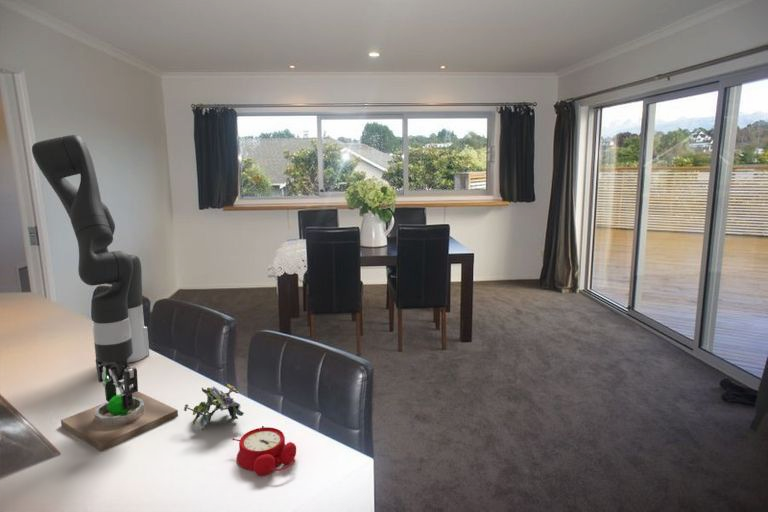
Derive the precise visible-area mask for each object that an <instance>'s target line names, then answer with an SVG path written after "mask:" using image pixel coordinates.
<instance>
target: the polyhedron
mask: <svg viewBox="0 0 768 512" xmlns="http://www.w3.org/2000/svg"><path fill="white" fill-rule="evenodd" d="M130 409H131V408H130ZM130 409H128V410H123V409H122V401H121V393H120V394H119V393H118V394H117V395H116V396H114V397H112V398H111V399H110V401H109V403H108V410H109V412H110V413H111V414H112V415H116V416H118V415H123V414H126V413H128V412H129V410H130Z"/></svg>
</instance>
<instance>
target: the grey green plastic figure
mask: <svg viewBox="0 0 768 512" xmlns="http://www.w3.org/2000/svg"><path fill="white" fill-rule="evenodd" d="M225 386H227V388H228V389H229V390H228V392H224V391H222V390H221V389H220V388H217V387H215V386H212V387H207V388H206V389H205V388H204V386H202V387H201V390H202V391H201V392H203V393H204V394H206V396H207V397H206V401H200V403H199V404H198V405H195V406H194V407H193V408H190V407H189V404H185V405H184V408H183V411H184V412H187V409H188V410H190V411H192V416H195V418H193V421H192V426H194V425H195V423H196V421H197V420H198V418H199V417H200V416H202V417H203V418H202V419H203V425H202V428H201V431H203V430H204V429H205V427H206V425H207V424H208V423H209V422H210V421H211V420H212V417H213V415H214V414H215V413H216V411H218V410H220V411H222V412H223V411H226V410H228V413H229V414H228V415H229V416H230V417H231V418H232V419H234V420H238V419H239V417H243V416H244V414H245V412H243V411H241V410H240V409H241V404H240V403H238V402H236V401H235V400H234V398H233V397H231V396H230V394H231V393H232V392H234V393H235V394H239V393H240V392H239V391H238V389H237V388H235V386H234V385H231V383H228V382H225ZM211 406H215V407H214V408H213V409H212V411H211V412H209V411H210V409H211ZM206 414H207V415H206ZM238 416H239V417H238Z"/></svg>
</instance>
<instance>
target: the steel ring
mask: <svg viewBox="0 0 768 512" xmlns="http://www.w3.org/2000/svg"><path fill="white" fill-rule="evenodd" d="M108 403H109V402H108V401H106V402H104V403H102V405H101V404H99V405H100V406H99V405H98V406H99V407H98V408H96V409H95V414H94V415H95V423H97V424H99V425H101V426H117V425H122V424H127V423H129V422H131V421H134V420H136V419H138V418H139V417H140V416H141V415H142V414H144V400H142V399H140V398H138V397H133V406H136V407H137V408H136V409H135V410H134V411H131V412H129V413H126V414H123V415H118V416H103V414H104V413H106V412H107V411H109V410H108Z"/></svg>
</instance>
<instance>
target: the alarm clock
mask: <svg viewBox="0 0 768 512" xmlns="http://www.w3.org/2000/svg"><path fill="white" fill-rule="evenodd" d="M231 440H232V441H236V442H239V443H238V445H239V447H238V448H239V449H238V452H237V455H236V462H237V464H238V465H239V466H240V467H241V468H242V469H244V470H249V471H254V473H255V474H256V475H258V476H268V475H270V474H271V473H272V472H273V471H282V470H286V469H287V468H289V467H291V466H292V465H294V463H295V462H296V459H295V457H296V455H297V446H296V444H295V443H294V442H291V441H289V442H287V443H286V436H285V435H284V433H283V432H282V431H281V430H280V429H278V428H275V427H267V426H264V425H262V426H261V427H259V428H254V429H252V430H249V431H247V432H246V433H244V434H243V435H242V436H241V437H240V439H236V438H234V437H233V438H232V439H231ZM281 464H283V465H287V466H284V467H282V468H275V467H277V466H279V465H281Z"/></svg>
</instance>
